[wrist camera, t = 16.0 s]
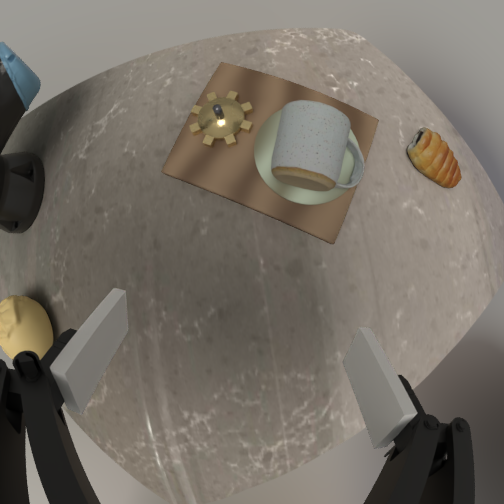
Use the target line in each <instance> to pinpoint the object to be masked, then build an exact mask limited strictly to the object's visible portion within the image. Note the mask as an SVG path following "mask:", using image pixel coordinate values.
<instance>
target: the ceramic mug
mask: <svg viewBox="0 0 504 504" xmlns="http://www.w3.org/2000/svg"><path fill="white" fill-rule="evenodd" d="M350 127H351V123H350V121H349V119H348V117H347V116H346V115H345V114H343V113H342V112H341V111H339V110H338V109H336V108H334V107H332V106H329V105H327V104H324V103H320V102H315V101H309V100H297V101H293V102H290V103H287V104H286V105H285V106H284V107H283V109H282V113H281V118H280V122H279V127H278V132H277V137H276V142H275V146H274V150H273V155H272V161H271V172H272V174H273V176H274V177H275V178H276V179H277V180H279V181H281V182H283V183H286V184H288V185H292V186H295V187H299V188H303V189H308V190H313V191H329V190H331V189H333V188H351V187H354V186H355V185H357V184H358V183H359V182H360V180H361V178H362V176H363V173H364V158H363V155H362V153H361V151H360V149H359V148H358V146H357V145H356V144H355V143H354V142H353V141H352V140H351V139H350V138H348V137H349V133H350ZM346 146H347V147H348V148H349V150H350V151H351V153H352V154H353V157H354V160H355V166H354V170H353V173H352V176H351V177H350V181H349V182H348V183H347V184H340V183H338V182H337V181H338V179H339V176H340V173H341V168H342V163H343V158H344V154H345V150H346Z"/></svg>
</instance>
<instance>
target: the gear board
mask: <svg viewBox="0 0 504 504" xmlns="http://www.w3.org/2000/svg"><path fill="white" fill-rule="evenodd" d="M230 91H234V92H237V93H238V95H239V98H238V100H237V102H238V103H239V104H240V105H241V104H244V103H247V102H250V104H251V106H252V108H253V113H250V114H248V115H245V120H246V121H249V122H252V124H253V127H252V129H251V131H250V133H246V132H243V131H240V132H239V133H238V134H237V135H236V136H234V138H235V140H236V143H237V145H235V146H232V147H230V148H229V147H228V145H227V143H226V140H223V141H217V140H216V142H215V144H214V146H213V148H210V147H207V146H204V144H203V143H202V142H203V140H204V138H205V135H204V134H203V133H200V134H198V135H196V136H194V135H193V134H192V132H191V129H190V127H189V126H190V125H192V124H194V123H197V122H198V121H197V120H198V117H196V116H193V115H192V113H191V114H190V115H189V117H188V119H187V121H186V123H185V125H184V127H183V128H182V130H181V132H180V134H179V136H178V138H177V140H176V142H175V144H174V146H173V148H172V150H171V152H170V154H169V156H168V158H167V161H166V163H165V165H164V167H163V169H162V171H161V172H162V173H164V174H166V175H168V176H171V177H174V178H176V179H179V180H181V181H184V182H187V183H189V184H192V185H194V186H197V187H199V188H202V189H204V190H207V191H209V192H212V193H214V194H217V195H219V196H222V197H224V198H227V199H229V200H232V201H234V202H236V203H239V204H241V205H244V206H246V207H248V208H251V209H253V210H255V211H258V212H260V213H263V214H265V215H267V216H270V217H272V218H274V219H276V220H279V221H281V222H283V223H286V224H288V225H290V226H292V227H295V228H297V229H299V230H301V231H304V232H306V233H308V234H310V235H313V236H315V237H317V238H319V239H321V240H324V241H326V242H328V243H330V244H334V243H335V240H336V238H337V236H338V233H339V231H340V228H341V226H342V223H343V221H344V218H345V216H346V213H347V211H348V208H349V205H350V203H351V200H352V198H353V195H354V192H355V190H356V187H357V185H355V186H354V187H351V188H333V189H331V190H329V191H313V190H308V189H303V188H299V187H295V186H292V185H288V184H286V183H283V182H281V181H279V180H277V179H276V178H275V177H274V176H273V174H272V172H271V161H272V155H273V150H274V146H275V142H276V137H277V132H278V127H279V122H280V118H281V113H282V109H283V107H284V106H285V105H286V104H287V103H290V102H293V101H297V100H309V101H315V102H320V103H324V104H327V105H329V106H332V107H334V108H336V109H338V110H339V111H341V112H342V113H343V114H345V115H346V116H347V117H348V119H349V121H350V123H351V127H350V133H349V137H348V138H350V139H351V140H352V141H353V142H354V143H355V144H356V145H357V146H358V148H359V149H360V151H361V153H362V155H363V158H364V164H365V161H366V159H367V156H368V153H369V150H370V147H371V144H372V140H373V137H374V134H375V131H376V128H377V125H378V121H379V120H378V119H376V118H374V117H372V116H370V115H368V114H366V113H364V112H362V111H360V110H358V109H356V108H354V107H352V106H350V105H347V104H345V103H343V102H341V101H339V100H336V99H334V98H332V97H329V96H327V95H324V94H322V93H320V92H317V91H315V90H312V89H309V88H307V87H304V86H301V85H299V84H296V83H293V82H290V81H287V80H284V79H281V78H278V77H275V76H272V75H269V74H265V73H262V72H258V71H255V70H251V69H247V68H244V67H240V66H236V65H232V64H227V63H223V62H221V63H220V65H219V66H218V68H217V70H216V71H215V73H214V74H213V76H212V78H211V79H210V81H209V82H208V84H207V86H206V87H205V89H204V91H203V92H202V94H201V96H200V98H199V99H198V101H197V103H196V105H197V106H200V107H203V106H204V105H205V104H206V103H207V102H209V100H208V97H207V94H209V93H212V92H215V94H216V96H217V98H219V97H227V95H228V93H229V92H230ZM354 166H355V160H354V157H353V154H352V153H351V151H350V150H349V148H348V147H347V146H346V150H345V154H344V158H343V163H342V168H341V173H340V176H339V179H338V181H337V182H338V183H340V184H347V183H348V182H349V181H350V177H351V176H352V173H353V170H354Z"/></svg>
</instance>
